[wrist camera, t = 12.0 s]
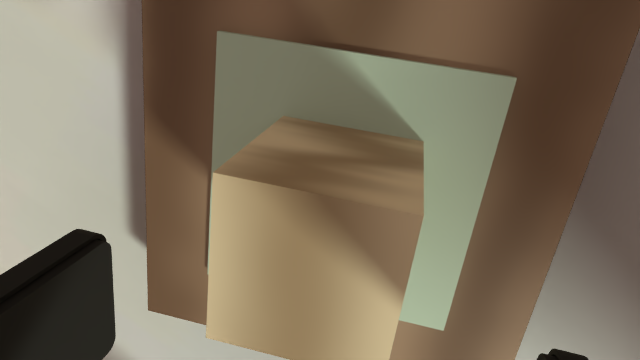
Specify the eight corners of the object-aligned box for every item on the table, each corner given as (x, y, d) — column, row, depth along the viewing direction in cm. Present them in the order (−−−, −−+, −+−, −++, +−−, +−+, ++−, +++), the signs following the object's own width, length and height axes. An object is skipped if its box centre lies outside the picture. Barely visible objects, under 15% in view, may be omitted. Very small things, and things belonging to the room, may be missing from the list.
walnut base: (614, -10, 16) (659, -13, 13) (489, 350, 22) (500, 405, 19) (183, -65, 18) (135, -78, 15) (179, 275, 24) (144, 314, 21)
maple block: (423, 141, 16) (423, 215, 10) (395, 265, 18) (383, 384, 12) (283, 115, 16) (213, 172, 11) (271, 237, 18) (206, 337, 13)
